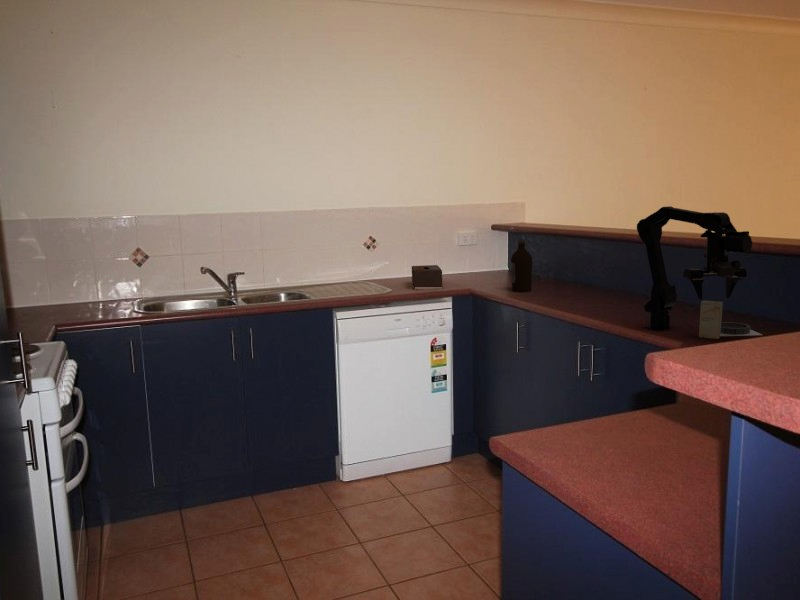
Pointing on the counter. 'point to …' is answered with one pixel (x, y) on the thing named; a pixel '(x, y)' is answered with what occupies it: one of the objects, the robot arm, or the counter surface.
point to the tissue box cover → (427, 276)
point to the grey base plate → (742, 334)
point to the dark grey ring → (734, 328)
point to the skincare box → (710, 319)
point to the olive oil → (521, 269)
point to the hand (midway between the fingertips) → (714, 298)
